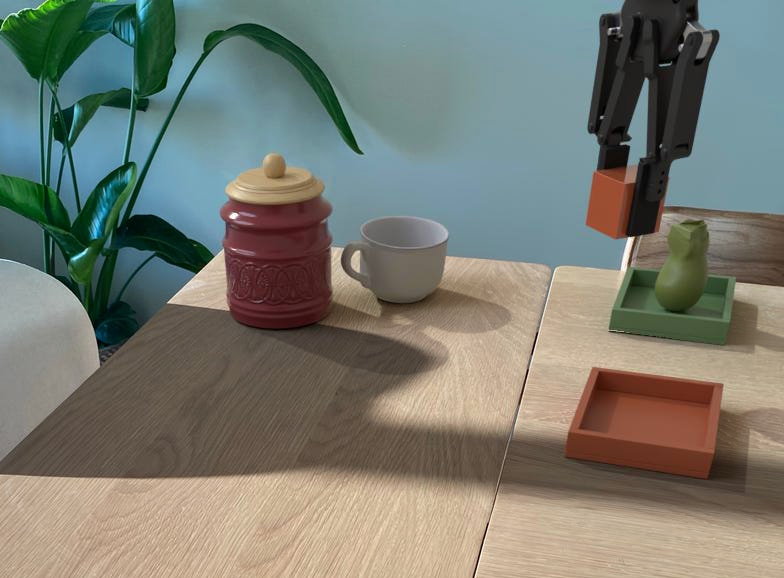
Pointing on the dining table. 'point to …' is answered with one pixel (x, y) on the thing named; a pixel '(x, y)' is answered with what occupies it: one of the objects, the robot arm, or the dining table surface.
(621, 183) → the block
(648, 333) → the green tray
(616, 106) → the robot arm
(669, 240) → the pear
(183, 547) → the dining table surface
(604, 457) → the terracotta tray
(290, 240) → the kitchen canister
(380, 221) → the teacup
